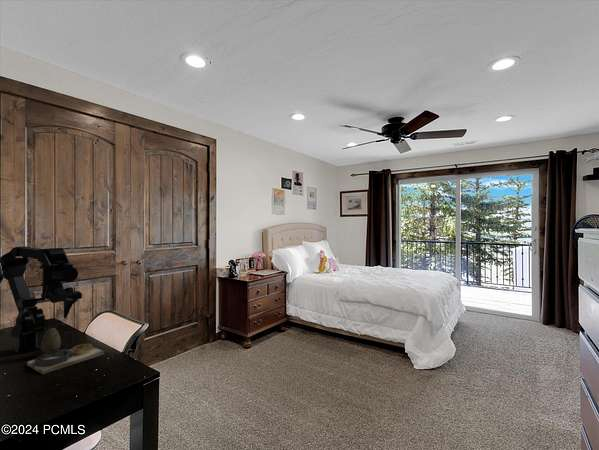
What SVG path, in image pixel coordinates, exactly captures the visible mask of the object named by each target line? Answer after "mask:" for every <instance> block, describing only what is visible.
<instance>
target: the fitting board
mask: <svg viewBox="0 0 599 450" xmlns="http://www.w3.org/2000/svg"><path fill="white" fill-rule="evenodd" d="M69 350H70V351H72V348H70V349H69ZM102 355H105V351H104V350H102V349H99V348H97V347H94V346H93V350H92V351H91V352H89V353H86V354H82V355H74V354H72V357H71V358H70V359H69V360H68V361H66V362H63V363H60V364H56V365H53V366H42V367H39V366H37V365H36V364H35V359H31V360H28V361H27V362H26V366H28V367H29V368H31V369H33V370H34V371H36V372H38V374H39V373H40V374H41V375H45V374H48V373H51V372H53V371H54V372H55V371H57V370H60V369H63V368H67V367H69V366H72V365H75V364H79V363H81V362H85V361H88V360H90V359H94V358H96V357H100V356H102ZM58 357H61V356H54V357H51V358H47V359H55V358H58ZM44 360H46V359H44Z"/></svg>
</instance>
